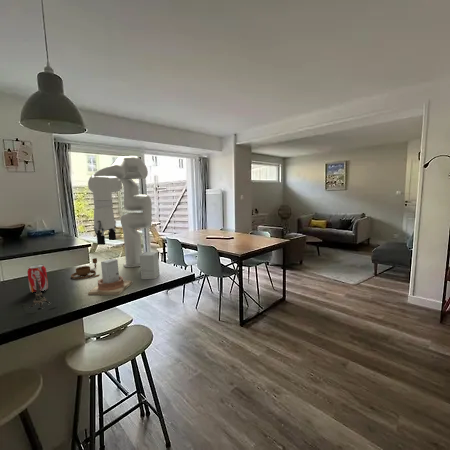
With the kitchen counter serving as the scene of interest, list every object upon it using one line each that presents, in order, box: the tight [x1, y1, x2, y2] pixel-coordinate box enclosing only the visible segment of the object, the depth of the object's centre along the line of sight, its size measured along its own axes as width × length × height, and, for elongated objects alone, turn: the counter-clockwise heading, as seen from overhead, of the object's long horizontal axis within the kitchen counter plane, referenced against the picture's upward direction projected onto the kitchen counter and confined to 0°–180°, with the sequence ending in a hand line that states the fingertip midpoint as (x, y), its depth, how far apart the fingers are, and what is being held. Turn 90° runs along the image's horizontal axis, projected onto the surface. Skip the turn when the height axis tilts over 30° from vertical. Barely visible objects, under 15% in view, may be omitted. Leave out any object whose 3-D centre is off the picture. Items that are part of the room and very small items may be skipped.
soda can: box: [27, 263, 49, 293], centre depth 122 cm, size 7×7×12 cm
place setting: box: [70, 257, 100, 280], centre depth 146 cm, size 18×20×6 cm
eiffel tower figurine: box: [30, 277, 51, 307], centre depth 106 cm, size 15×10×13 cm
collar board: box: [87, 275, 133, 296], centre depth 123 cm, size 14×14×4 cm
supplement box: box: [139, 251, 160, 280], centre depth 137 cm, size 7×7×13 cm
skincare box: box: [100, 258, 120, 283], centre depth 122 cm, size 6×4×12 cm
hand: (107, 242), depth 120 cm, fingers open, 9 cm apart
